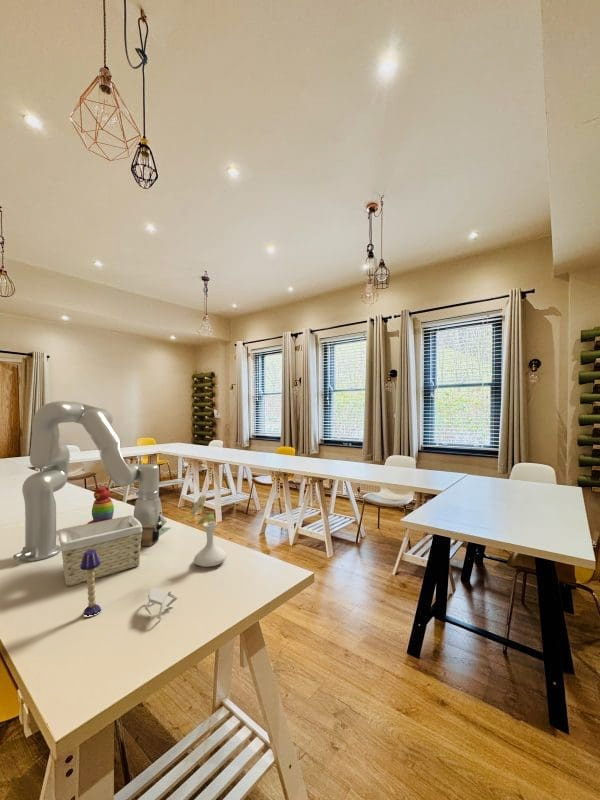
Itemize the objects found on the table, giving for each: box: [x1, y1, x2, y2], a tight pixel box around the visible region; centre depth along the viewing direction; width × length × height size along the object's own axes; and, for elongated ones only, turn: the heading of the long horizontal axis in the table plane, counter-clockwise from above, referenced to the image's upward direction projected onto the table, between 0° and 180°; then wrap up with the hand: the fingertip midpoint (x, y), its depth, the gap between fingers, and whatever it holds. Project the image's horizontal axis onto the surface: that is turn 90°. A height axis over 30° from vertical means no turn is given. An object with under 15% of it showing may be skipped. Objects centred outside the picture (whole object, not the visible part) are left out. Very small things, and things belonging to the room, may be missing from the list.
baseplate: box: [159, 526, 172, 537], centre depth 149 cm, size 14×14×1 cm
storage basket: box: [58, 514, 142, 587], centre depth 118 cm, size 24×16×15 cm
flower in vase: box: [190, 494, 227, 568], centre depth 121 cm, size 13×11×25 cm
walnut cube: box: [140, 525, 160, 547], centre depth 137 cm, size 6×6×6 cm
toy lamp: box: [80, 550, 102, 616], centre depth 92 cm, size 5×5×17 cm
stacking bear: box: [86, 486, 115, 524], centre depth 164 cm, size 11×10×18 cm
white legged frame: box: [144, 586, 179, 620], centre depth 93 cm, size 12×8×5 cm
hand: (147, 539), depth 137 cm, fingers closed on walnut cube, 6 cm apart
